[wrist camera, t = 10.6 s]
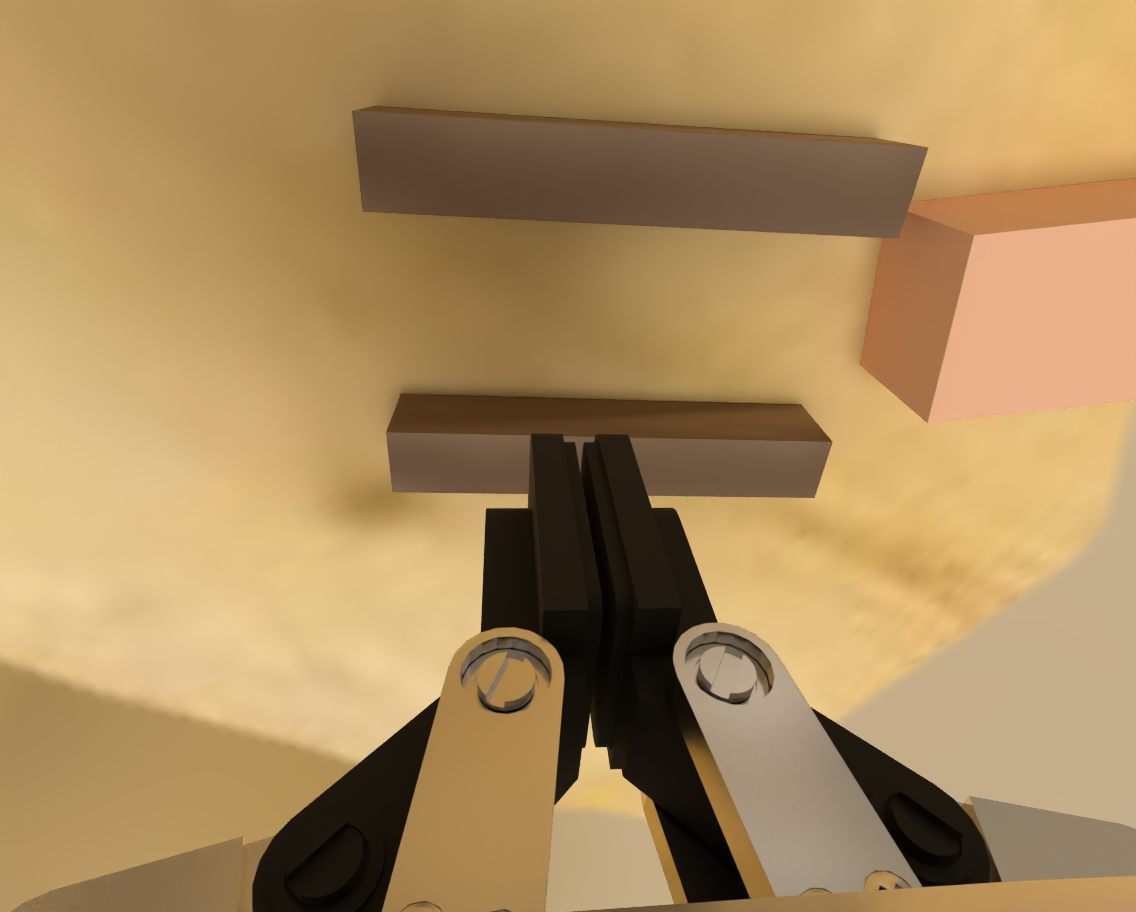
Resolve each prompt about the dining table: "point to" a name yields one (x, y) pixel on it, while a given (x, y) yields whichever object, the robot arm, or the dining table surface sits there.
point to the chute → (627, 197)
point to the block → (1008, 302)
